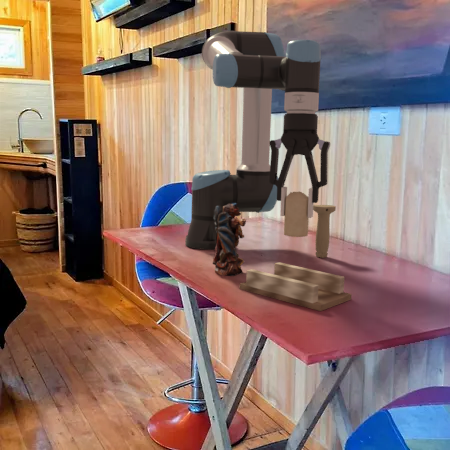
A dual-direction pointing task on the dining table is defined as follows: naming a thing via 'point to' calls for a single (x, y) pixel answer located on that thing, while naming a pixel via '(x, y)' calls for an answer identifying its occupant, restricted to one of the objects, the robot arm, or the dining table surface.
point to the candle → (296, 215)
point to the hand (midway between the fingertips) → (296, 215)
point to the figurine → (228, 240)
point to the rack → (298, 286)
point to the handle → (323, 229)
